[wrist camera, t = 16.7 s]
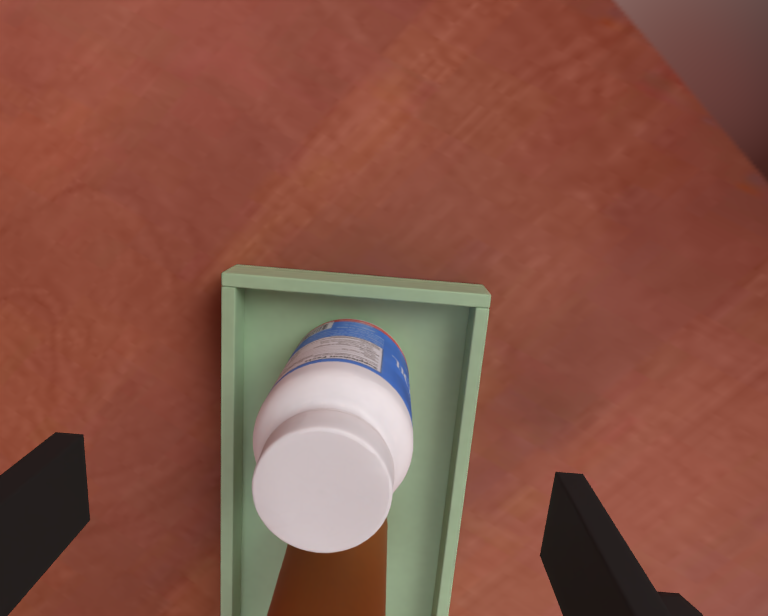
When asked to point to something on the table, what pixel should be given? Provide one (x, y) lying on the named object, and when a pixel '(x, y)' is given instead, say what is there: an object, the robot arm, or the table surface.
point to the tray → (428, 405)
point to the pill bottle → (334, 438)
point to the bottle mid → (333, 581)
